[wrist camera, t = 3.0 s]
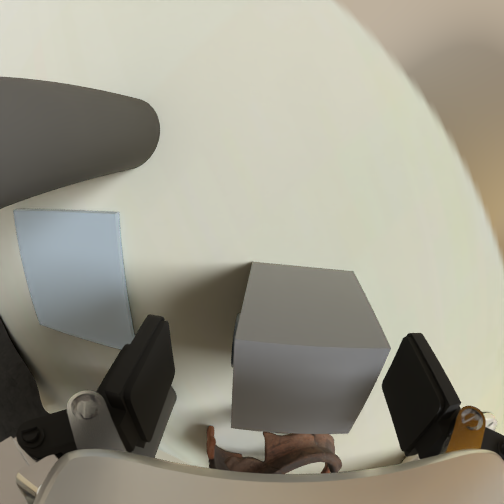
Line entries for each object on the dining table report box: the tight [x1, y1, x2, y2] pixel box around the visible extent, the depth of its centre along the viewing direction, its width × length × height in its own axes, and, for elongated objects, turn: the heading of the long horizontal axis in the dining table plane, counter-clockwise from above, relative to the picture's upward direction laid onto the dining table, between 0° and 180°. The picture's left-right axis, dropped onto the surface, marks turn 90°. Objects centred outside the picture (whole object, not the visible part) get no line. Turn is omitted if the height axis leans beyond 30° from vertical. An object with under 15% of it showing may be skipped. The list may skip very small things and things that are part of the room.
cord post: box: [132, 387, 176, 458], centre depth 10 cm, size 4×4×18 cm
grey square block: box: [231, 262, 391, 434], centre depth 12 cm, size 5×5×6 cm
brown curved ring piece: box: [207, 426, 342, 474], centre depth 17 cm, size 12×10×8 cm
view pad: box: [13, 209, 135, 350], centre depth 15 cm, size 9×9×1 cm
